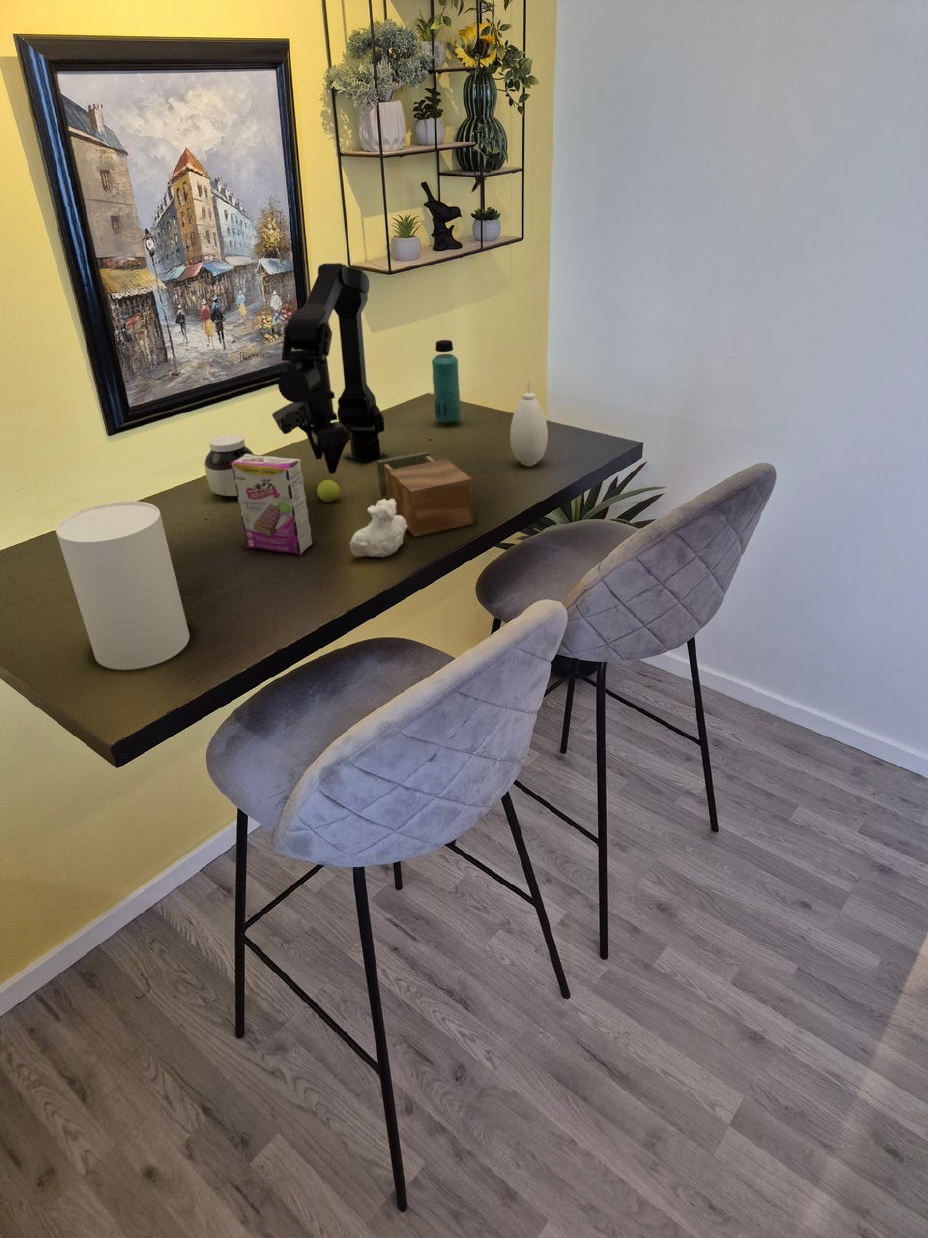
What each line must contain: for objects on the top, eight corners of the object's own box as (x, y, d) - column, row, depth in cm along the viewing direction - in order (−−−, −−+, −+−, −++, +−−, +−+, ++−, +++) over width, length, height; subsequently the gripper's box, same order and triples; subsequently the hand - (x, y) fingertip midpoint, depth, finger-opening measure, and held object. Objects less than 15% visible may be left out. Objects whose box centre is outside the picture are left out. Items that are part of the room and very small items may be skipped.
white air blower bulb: (553, 461, 187) (554, 378, 178) (536, 473, 181) (536, 388, 172) (522, 456, 191) (521, 374, 181) (504, 467, 185) (502, 383, 176)
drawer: (378, 493, 173) (374, 458, 170) (427, 483, 177) (425, 449, 173) (399, 514, 164) (396, 478, 160) (450, 503, 167) (449, 467, 164)
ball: (314, 501, 173) (311, 481, 171) (331, 495, 176) (329, 474, 174) (327, 507, 170) (325, 486, 168) (345, 500, 173) (342, 479, 171)
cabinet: (391, 514, 166) (387, 470, 162) (448, 501, 170) (446, 458, 166) (414, 537, 157) (410, 491, 152) (473, 523, 161) (472, 478, 156)
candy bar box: (245, 549, 155) (229, 462, 147) (260, 537, 159) (244, 452, 151) (301, 556, 152) (287, 467, 144) (314, 544, 156) (301, 457, 148)
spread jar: (223, 506, 173) (212, 450, 167) (197, 491, 181) (186, 437, 175) (275, 489, 180) (266, 435, 174) (248, 475, 187) (239, 423, 181)
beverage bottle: (462, 419, 215) (459, 337, 205) (460, 428, 209) (456, 343, 199) (436, 419, 216) (432, 337, 205) (433, 428, 210) (428, 344, 200)
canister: (131, 616, 136) (98, 498, 126) (206, 626, 132) (179, 505, 122) (74, 663, 125) (33, 537, 115) (155, 675, 121) (120, 546, 111)
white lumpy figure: (358, 576, 149) (378, 540, 140) (333, 542, 151) (352, 504, 142) (409, 552, 156) (432, 517, 147) (386, 520, 158) (407, 483, 149)
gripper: (261, 381, 166) (273, 459, 174) (285, 406, 151) (297, 489, 159) (317, 373, 170) (327, 449, 178) (346, 396, 155) (355, 478, 163)
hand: (325, 465), depth 170 cm, fingers open, 9 cm apart
